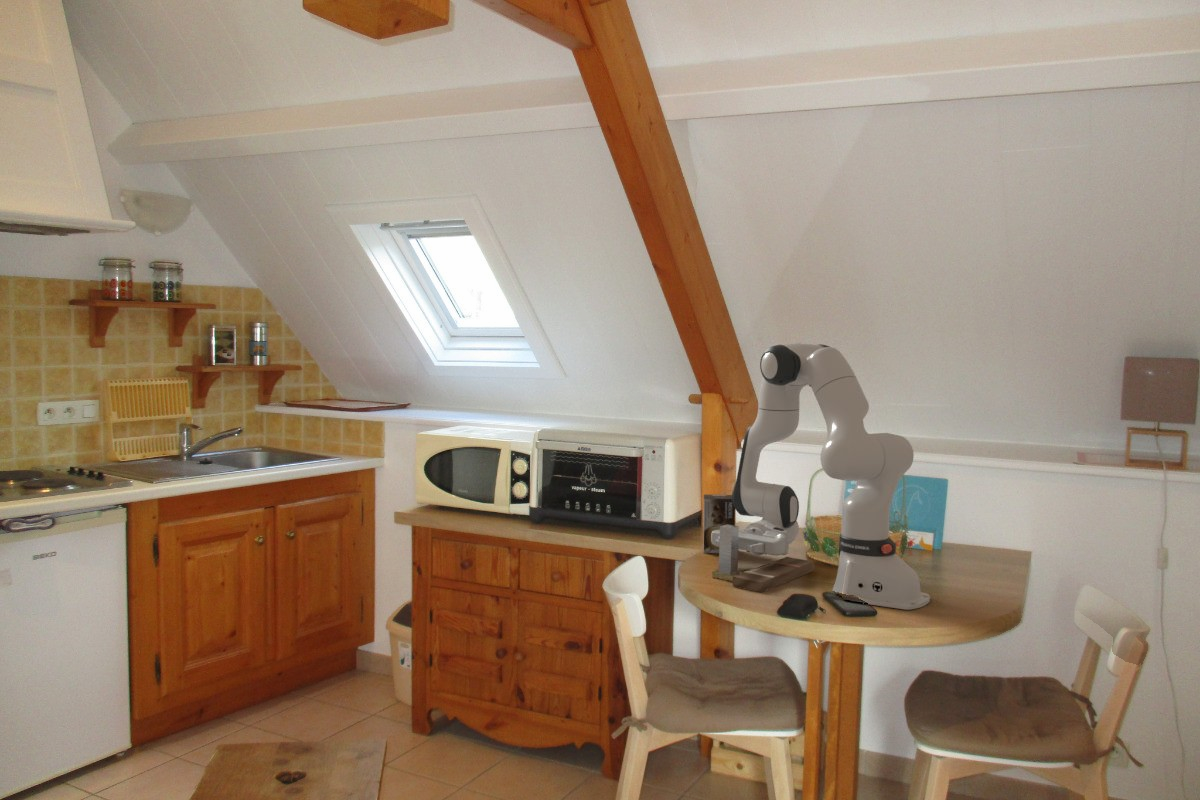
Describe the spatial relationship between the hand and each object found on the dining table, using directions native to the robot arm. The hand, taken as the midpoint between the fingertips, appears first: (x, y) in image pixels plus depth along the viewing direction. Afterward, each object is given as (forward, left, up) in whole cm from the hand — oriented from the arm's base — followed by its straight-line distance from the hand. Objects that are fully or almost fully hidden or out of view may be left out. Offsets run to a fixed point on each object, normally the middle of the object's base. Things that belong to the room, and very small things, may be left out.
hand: (732, 546), depth 240 cm
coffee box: (+18, -22, -8) cm, 30 cm away
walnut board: (-9, -6, -8) cm, 13 cm away
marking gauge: (0, +2, -8) cm, 8 cm away
